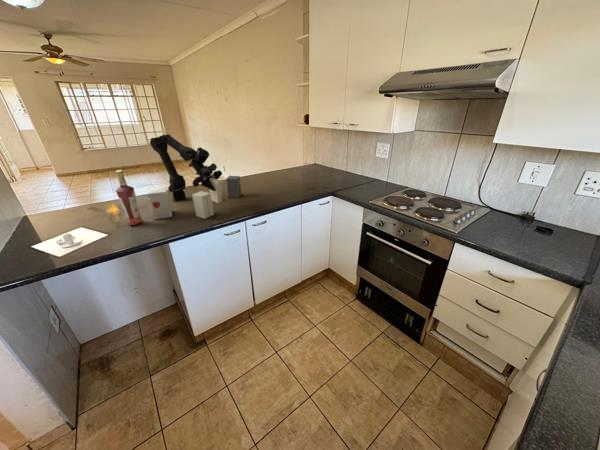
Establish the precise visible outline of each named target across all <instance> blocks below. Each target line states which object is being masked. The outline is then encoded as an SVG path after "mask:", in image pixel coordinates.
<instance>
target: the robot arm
mask: <svg viewBox="0 0 600 450" xmlns="http://www.w3.org/2000/svg"><path fill="white" fill-rule="evenodd" d="M149 145H150V146H151V148H152V149H153V151H155V152H156V153H157V154H158V155H159V157H160V159H161V161H162V164H163V165H164V168H165V170H166V172H167V174H168V176H169V178H168V179H169V181H168V182H169V186H168V187H167V190H168V192H169V193H172V194H171V195H172V200H173V201H174V202H181V201H186V200H187V198H186V192H185V191H184V190H185V189H186V185H187V183H186V179H185V178H184V176H183V174H182V175H180V174H179V172H178V171H177V169H176V166H175V164H174V163H173V160H172V158H171V156H170V154H169V152H168V149H169V148H168V147H171V148H172V149H173V150H175V151H176V152H178V154H179V156H180V157H181V158H182V159H183V160H184V161H187V162H188V168H191V167H192V168H193V170H194V171H195V174H196V177H195V178H194V179H193V180H192V185H193V187H195V188H196V187H199V186H200V187H205V188H207V189H211V190H213V191H215V188H214V187H213V185H212V184H211V183H210V180H209V179H210V178H215V179H218V180H219V179H220V178H221V176H222V175H223V172H222V171H221V170H217V169H218V166H217V164H216V163H215V162H213V163H211V164H210V165H208V166H207V165H205V163H206V162H207V160H208V158H209V157H210V152H209V151H208V150H206V149H204V148H202V147H197V149H196V150H195V149H194V148H192V147H190V146H185V145H184V144H183V143H181V142H179V141H178V140H177V139H175V138H173V137H172V135H171V134H168V133H167V134H161V135H160V136H156V137H152V138H150V141H149Z"/></svg>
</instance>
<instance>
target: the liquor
mask: <svg viewBox="0 0 600 450" xmlns="http://www.w3.org/2000/svg"><path fill="white" fill-rule="evenodd" d="M115 174H116V176H117V178H118V183H119V187H117V188H116V190H115V193H116V195H117V198H118V200H119V202H120V205H121V207H122V209H123V212H124V215H125V217H126V219H127V224H128V225H130V226H139V225H141V223H142V222H143V218H142V215H141V212H140V208H139V205H138V200H137V196H136V193H135V189H134V187H133V186H131V185H128V183H127V181H126V178H125V176H124V171H123V169H117V170H115Z"/></svg>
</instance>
